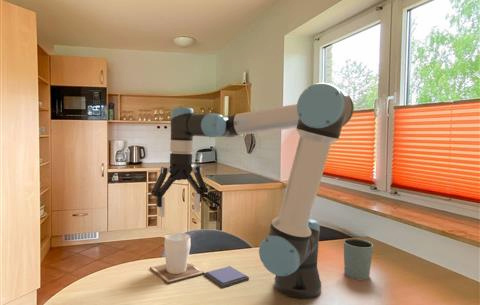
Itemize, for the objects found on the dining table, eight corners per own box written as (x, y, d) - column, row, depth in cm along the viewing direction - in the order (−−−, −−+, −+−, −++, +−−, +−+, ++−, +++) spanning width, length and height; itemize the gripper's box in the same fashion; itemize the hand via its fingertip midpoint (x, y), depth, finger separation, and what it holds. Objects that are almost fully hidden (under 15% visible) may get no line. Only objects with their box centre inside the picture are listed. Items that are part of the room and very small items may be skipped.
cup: (192, 266, 120) (193, 233, 119) (185, 277, 111) (186, 242, 110) (168, 263, 121) (169, 231, 120) (159, 274, 112) (160, 239, 111)
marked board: (204, 274, 115) (204, 272, 115) (167, 284, 107) (167, 282, 107) (184, 260, 126) (185, 259, 126) (149, 268, 118) (150, 267, 118)
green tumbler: (373, 282, 115) (375, 248, 114) (342, 278, 117) (345, 245, 116) (367, 270, 125) (370, 239, 124) (340, 267, 127) (342, 236, 126)
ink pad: (248, 279, 113) (249, 276, 113) (222, 287, 106) (222, 284, 106) (229, 268, 121) (229, 265, 121) (204, 275, 115) (204, 271, 115)
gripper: (206, 151, 124) (204, 207, 126) (141, 152, 109) (140, 215, 110) (217, 153, 119) (215, 211, 120) (151, 153, 103) (149, 221, 104)
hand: (179, 213), depth 115 cm, fingers open, 13 cm apart
